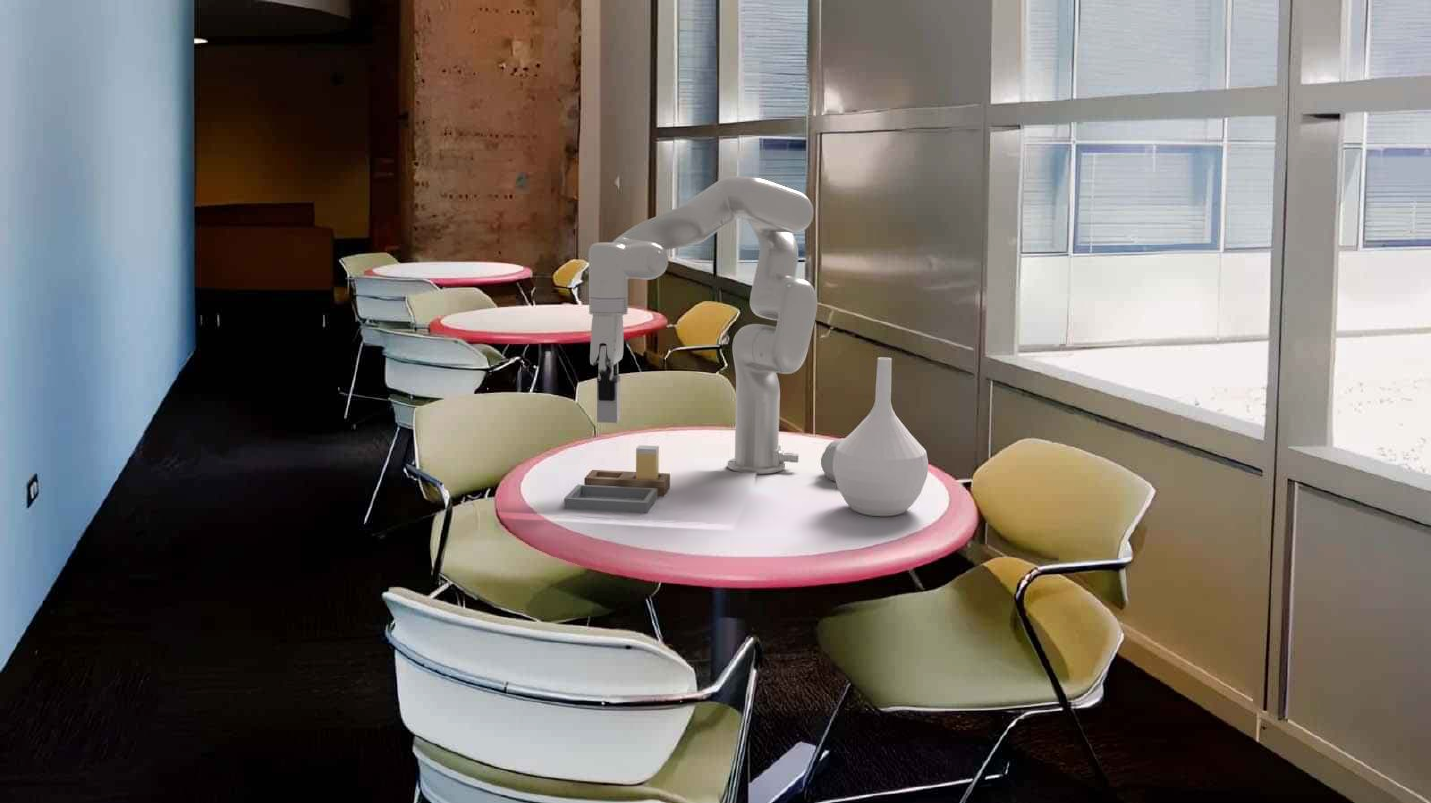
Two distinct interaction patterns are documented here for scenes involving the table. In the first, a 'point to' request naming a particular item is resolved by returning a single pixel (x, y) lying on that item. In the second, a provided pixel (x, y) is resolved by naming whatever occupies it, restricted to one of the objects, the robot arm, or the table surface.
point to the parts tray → (579, 503)
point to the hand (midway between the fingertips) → (608, 397)
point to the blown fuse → (609, 405)
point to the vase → (880, 458)
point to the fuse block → (627, 480)
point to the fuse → (647, 462)
